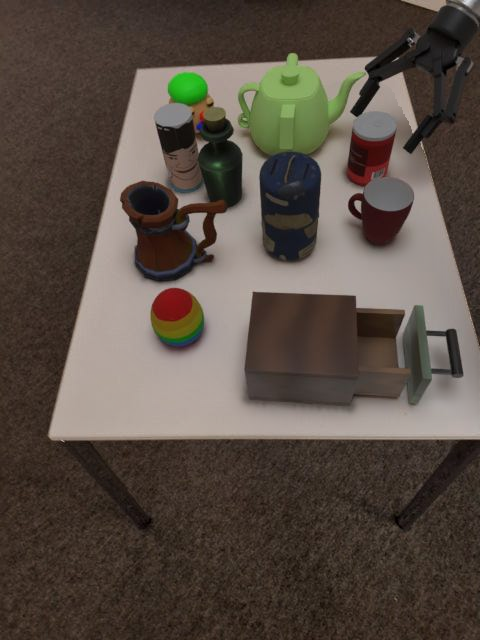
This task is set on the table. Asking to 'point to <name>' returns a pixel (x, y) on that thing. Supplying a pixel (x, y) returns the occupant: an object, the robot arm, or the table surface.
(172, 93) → the figurine
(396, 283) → the table surface
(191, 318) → the decorative egg
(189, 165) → the printed cylinder container
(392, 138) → the canned food
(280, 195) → the canister
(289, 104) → the teapot
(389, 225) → the mug
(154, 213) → the mug
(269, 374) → the cabinet
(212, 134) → the potion bottle
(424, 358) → the drawer
